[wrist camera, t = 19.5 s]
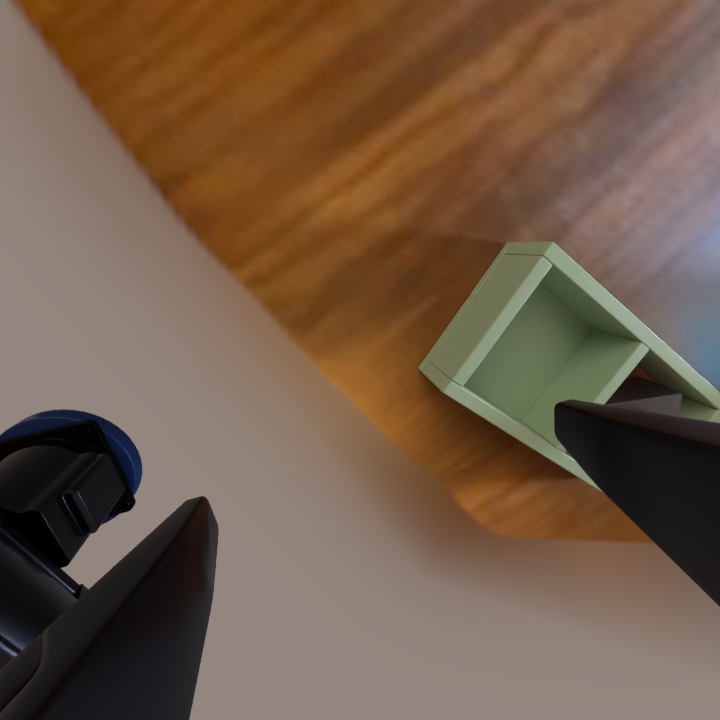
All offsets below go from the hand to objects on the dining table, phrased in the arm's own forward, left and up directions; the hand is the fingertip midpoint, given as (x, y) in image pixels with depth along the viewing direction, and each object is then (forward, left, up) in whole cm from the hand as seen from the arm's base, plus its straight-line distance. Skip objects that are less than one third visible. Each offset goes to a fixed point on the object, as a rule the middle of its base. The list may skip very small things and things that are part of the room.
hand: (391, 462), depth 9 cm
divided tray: (+14, -6, -13) cm, 20 cm away
